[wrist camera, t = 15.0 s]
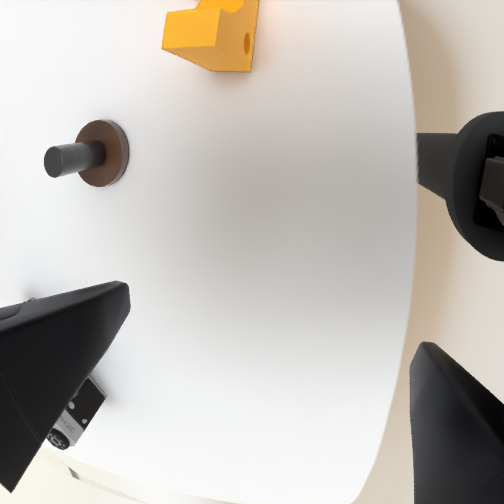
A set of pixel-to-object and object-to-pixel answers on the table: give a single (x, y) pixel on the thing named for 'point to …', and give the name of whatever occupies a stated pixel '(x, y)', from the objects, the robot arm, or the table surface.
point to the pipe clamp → (214, 34)
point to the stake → (91, 154)
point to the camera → (76, 414)
